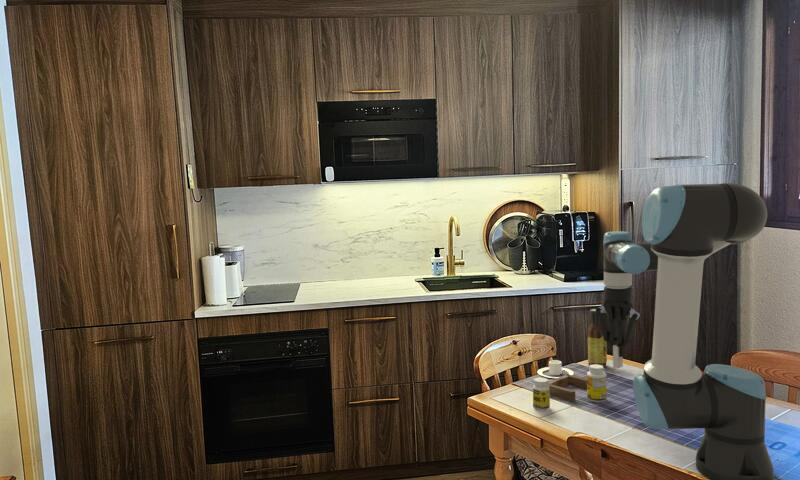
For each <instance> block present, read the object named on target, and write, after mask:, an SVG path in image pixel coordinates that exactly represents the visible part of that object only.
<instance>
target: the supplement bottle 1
mask: <svg viewBox="0 0 800 480" xmlns="http://www.w3.org/2000/svg"><path fill="white" fill-rule="evenodd" d="M548 382H549V379H548V378H547V377H536V378H534V379H533V384H534V385H533V386H532V407H533V408H534V409H535V410H536V411H548V410H549V409H550V407H551V403H550V402H551V400H550V398H551V397H550V388H549V386H548Z"/></svg>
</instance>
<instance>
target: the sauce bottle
mask: <svg viewBox="0 0 800 480" xmlns="http://www.w3.org/2000/svg"><path fill="white" fill-rule="evenodd" d="M589 314H590V324H589V326H588V328H587V362H588V367H590V365H594V364H597V365H602V366H603V369H604V368H606V367H607V361H608V355H607V352H608V351H607V350H608V348H607V347H608V346H607V343H608V342H607V341H605V340H604V337H603V333H602V328H601V324H600V319H599V315H598V314H597V312H596V308H592V309H590V310H589Z"/></svg>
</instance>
